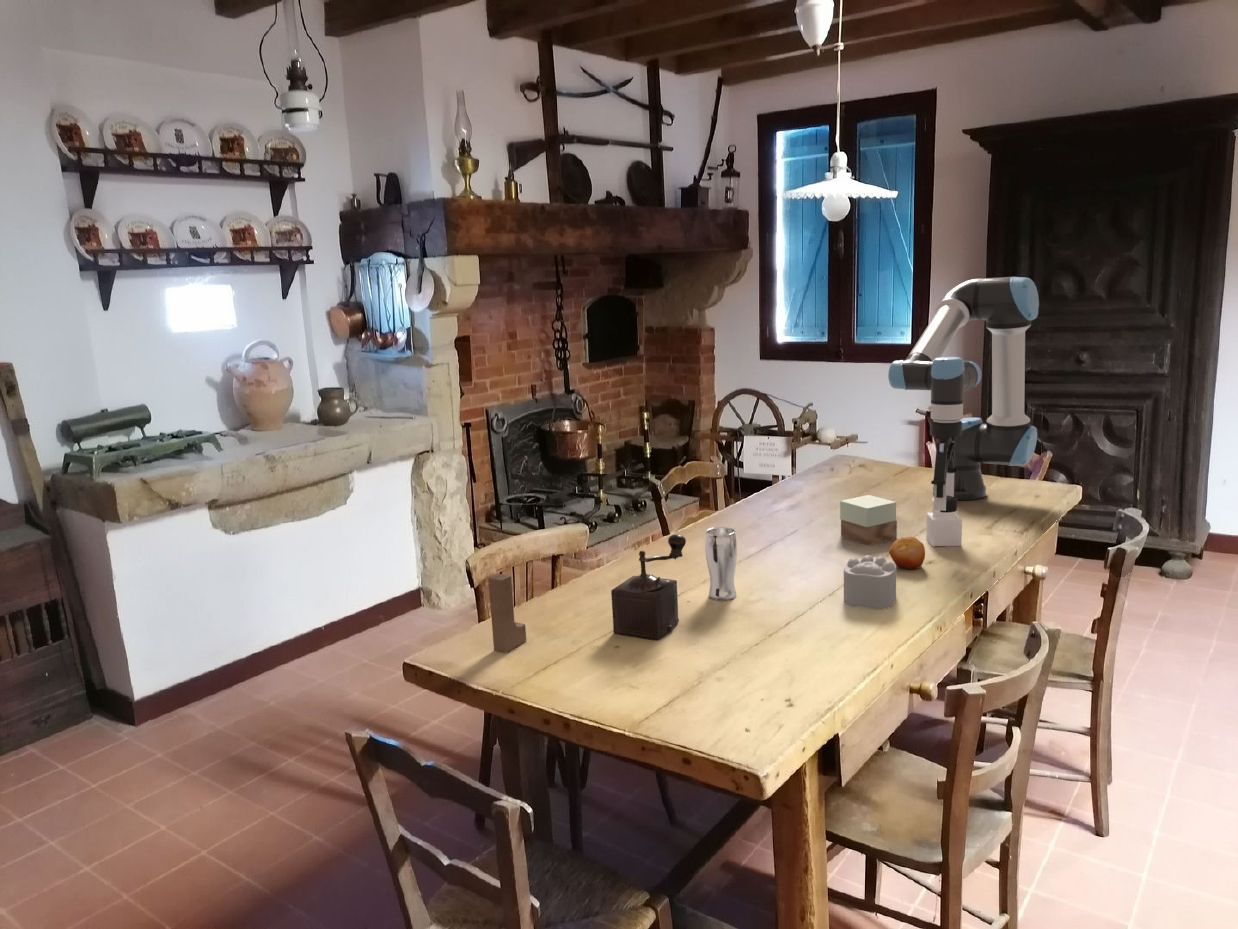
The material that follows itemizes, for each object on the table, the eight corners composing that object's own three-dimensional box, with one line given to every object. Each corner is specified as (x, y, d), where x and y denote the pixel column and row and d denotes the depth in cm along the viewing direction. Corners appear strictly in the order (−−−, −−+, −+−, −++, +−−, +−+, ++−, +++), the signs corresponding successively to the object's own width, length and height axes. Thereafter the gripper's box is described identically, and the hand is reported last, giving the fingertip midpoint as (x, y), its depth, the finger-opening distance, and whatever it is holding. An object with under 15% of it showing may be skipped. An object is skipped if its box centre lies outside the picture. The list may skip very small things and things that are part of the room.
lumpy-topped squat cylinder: (839, 605, 195) (839, 566, 193) (853, 585, 206) (853, 548, 205) (889, 611, 190) (890, 571, 189) (900, 590, 202) (901, 553, 200)
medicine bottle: (954, 538, 237) (955, 493, 234) (961, 546, 230) (963, 500, 227) (925, 539, 237) (926, 494, 235) (932, 547, 230) (933, 500, 228)
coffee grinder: (661, 641, 181) (657, 554, 177) (612, 634, 186) (607, 549, 182) (692, 614, 194) (689, 532, 190) (646, 608, 199) (642, 528, 196)
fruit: (928, 555, 220) (926, 532, 215) (924, 580, 215) (922, 557, 210) (893, 552, 223) (890, 529, 218) (888, 577, 218) (886, 554, 213)
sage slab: (868, 512, 247) (868, 494, 246) (896, 520, 238) (896, 502, 237) (840, 519, 242) (840, 500, 241) (867, 527, 234) (867, 508, 233)
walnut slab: (869, 530, 248) (869, 512, 247) (896, 539, 239) (896, 520, 238) (840, 537, 243) (840, 519, 242) (867, 546, 235) (868, 527, 234)
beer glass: (718, 603, 200) (716, 537, 196) (700, 594, 206) (698, 530, 203) (744, 597, 203) (742, 531, 200) (726, 588, 209) (724, 524, 206)
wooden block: (506, 653, 179) (500, 580, 176) (493, 650, 181) (487, 578, 178) (526, 641, 185) (521, 570, 181) (514, 638, 186) (508, 568, 183)
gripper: (938, 412, 239) (936, 491, 244) (921, 427, 218) (920, 514, 222) (968, 413, 236) (966, 493, 240) (955, 428, 214) (952, 516, 218)
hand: (943, 503), depth 231 cm, fingers open, 13 cm apart
